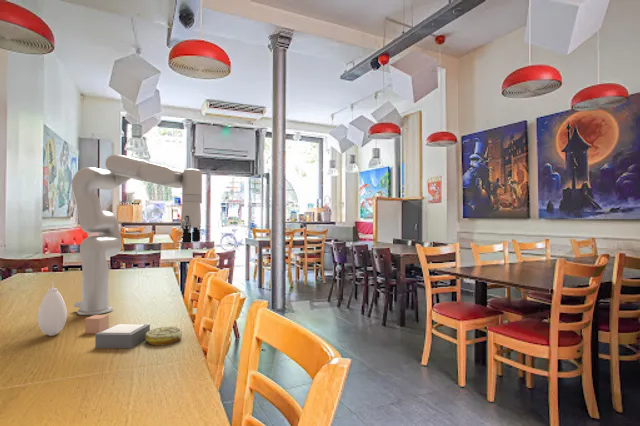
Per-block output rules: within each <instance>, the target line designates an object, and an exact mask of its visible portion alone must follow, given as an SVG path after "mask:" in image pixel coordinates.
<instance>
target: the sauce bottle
mask: <svg viewBox="0 0 640 426" xmlns="http://www.w3.org/2000/svg"><path fill="white" fill-rule="evenodd" d="M37 311H38V312H37V323H38V326H39V328H40V330H41V332H42V333H44V334H45V335H46V336H50V337H52V336H56V335H57V334H58V333H60V331H62V330H63V329H64V327H65V324H66V322H67V317H68V314H67V313H68V311H67V305H66V303H65V300H64V297H63V296H62V293H60V291H59V290H58V288H56V287H55V284H54V281H52V283H51V288H48V289H47V292H46V293H45V295H44V296H43V298H42V300H41V302H40V304H39V308H38V310H37Z"/></svg>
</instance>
